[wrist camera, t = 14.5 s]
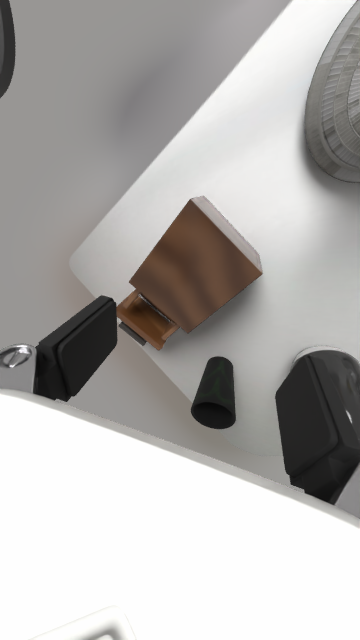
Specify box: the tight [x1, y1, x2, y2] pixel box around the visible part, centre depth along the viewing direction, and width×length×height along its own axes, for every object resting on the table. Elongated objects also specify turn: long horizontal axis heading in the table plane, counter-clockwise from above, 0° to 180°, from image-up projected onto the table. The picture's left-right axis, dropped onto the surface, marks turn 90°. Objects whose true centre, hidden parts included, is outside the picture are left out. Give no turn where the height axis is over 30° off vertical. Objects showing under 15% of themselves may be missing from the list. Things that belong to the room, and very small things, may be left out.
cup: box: [191, 357, 236, 429], centre depth 40 cm, size 8×8×12 cm
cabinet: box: [129, 196, 262, 333], centre depth 30 cm, size 14×12×9 cm
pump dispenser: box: [290, 346, 360, 441], centre depth 31 cm, size 10×10×15 cm
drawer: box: [116, 289, 180, 351], centre depth 36 cm, size 16×10×7 cm, turn 140°
